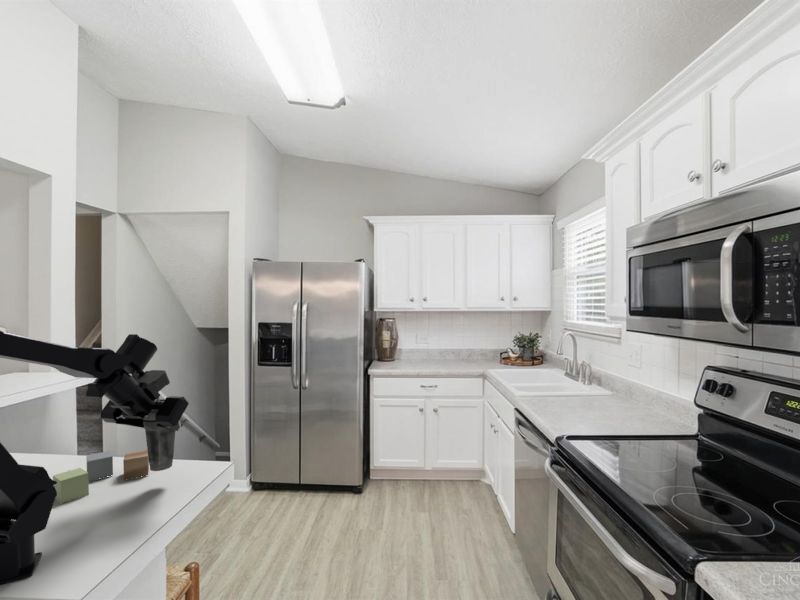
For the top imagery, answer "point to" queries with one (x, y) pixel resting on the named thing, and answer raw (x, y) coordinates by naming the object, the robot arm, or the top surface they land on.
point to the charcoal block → (99, 465)
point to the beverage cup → (158, 443)
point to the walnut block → (136, 464)
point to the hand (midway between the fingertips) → (165, 428)
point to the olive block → (71, 485)
